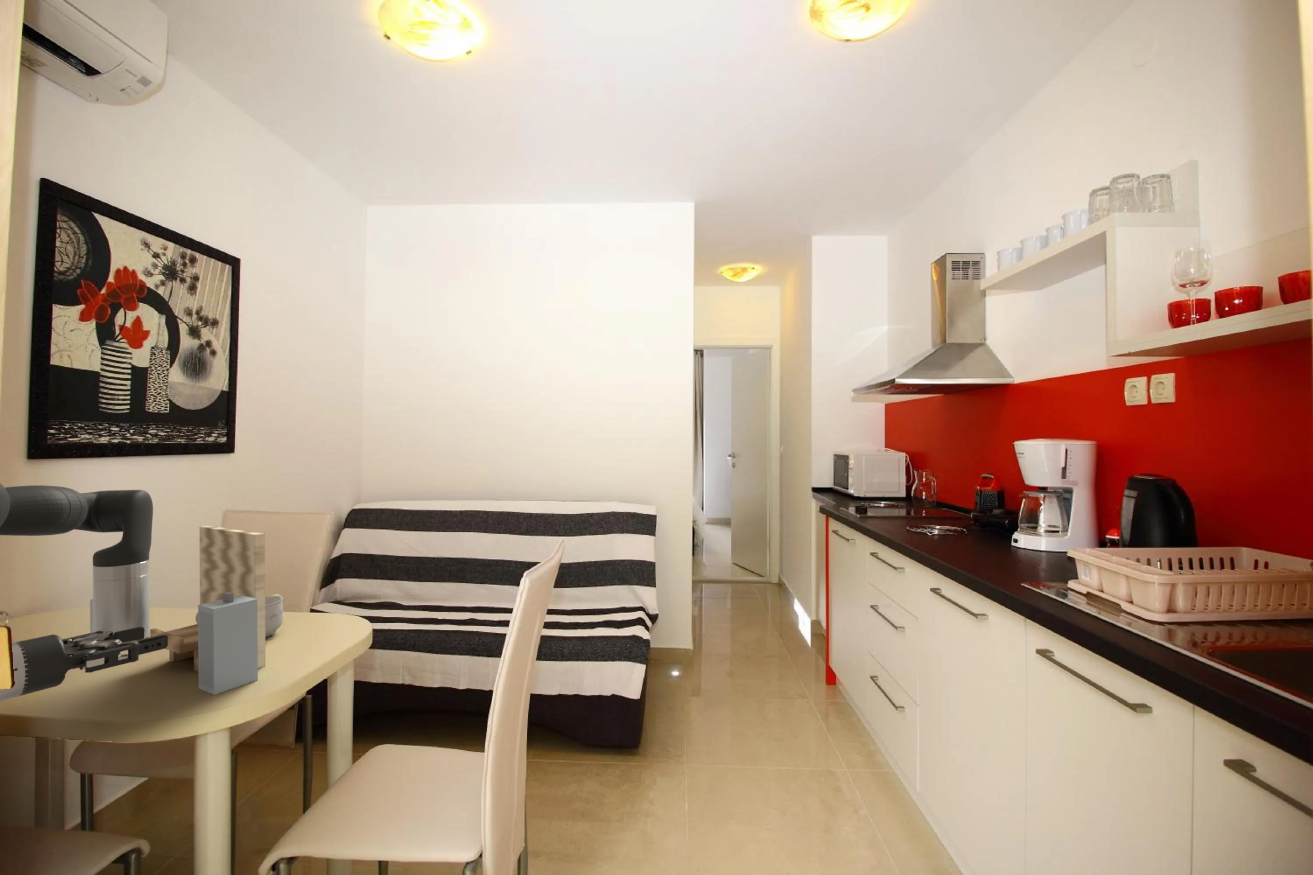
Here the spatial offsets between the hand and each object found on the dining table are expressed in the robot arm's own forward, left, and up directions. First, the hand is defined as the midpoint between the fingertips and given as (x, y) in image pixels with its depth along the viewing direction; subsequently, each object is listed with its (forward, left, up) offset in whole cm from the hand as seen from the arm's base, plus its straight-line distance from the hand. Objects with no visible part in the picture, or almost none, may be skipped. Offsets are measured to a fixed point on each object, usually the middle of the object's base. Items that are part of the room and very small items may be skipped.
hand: (154, 636), depth 96 cm
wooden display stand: (-9, +17, -12) cm, 23 cm away
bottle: (+3, +10, -12) cm, 16 cm away
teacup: (-14, +34, -12) cm, 39 cm away
